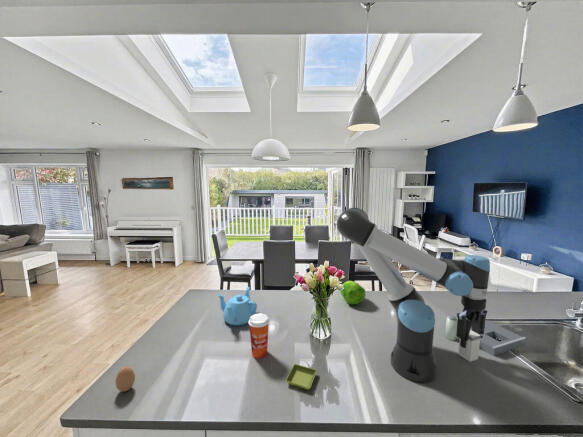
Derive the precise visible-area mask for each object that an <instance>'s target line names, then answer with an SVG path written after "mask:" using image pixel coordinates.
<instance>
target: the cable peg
mask: <svg viewBox="0 0 583 437" xmlns="http://www.w3.org/2000/svg"><path fill="white" fill-rule="evenodd" d="M456 317H457V316H453V315H448V316H447V317H446V321H445V322H446V323H445V336H444V337H445V339H447V340H449V341H456V340H457V336H456V334H457V321H458V318H456Z"/></svg>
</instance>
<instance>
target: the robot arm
mask: <svg viewBox="0 0 583 437" xmlns="http://www.w3.org/2000/svg"><path fill="white" fill-rule="evenodd" d="M336 227H337V231H338V233H339V234H340V235H341V237H344V239H347V240H349V241H350V243H351V245H355V246H357V247H358V249H359V251H360V252H361V253H362V255H363V257H364V258H365V259H366V261H367V263H368V265H369V266H370V267H371V269H372V270H373V272H374V274H375V275H376V277H377V278H378V280H379V281H380V282H381V284H382V285H383V287H384V289H385V290H386V292H387V296H386V297H387V300H388V302H389V303H390V304H391V306H392V307H393V310H394V312H395V313H396V322H397V328H396V342H395V345H394V347H393V349H392V352H391V354H390V364H391V368H393V370H394V371H395V372H396V373H398V374H399V375H400V376H401V377H403V378H405V379H407V380H409V381H413V382H416V383H431V382H433V381H434V380H436V378H437V371H438V370H437V365H436V362H435V358H434V353H433V348H434V347H433V343H434V334H435V333H434V332H435V325H436V317H435V312H434V310H433V309H432V307H431V306H430V305H428V304H426V303H425V300H424V298H423V296H422V295H421V294H420V293H419V292H418V291H417V289H416V288H415V286H414V285H413V284H412V283H408V282H407V281H406V280H405V278H404V277H403V275H402V274H401V273H400V271H399V269H398V268H397V266H396V265H395V263H394V262H396V263H399V264H401V265H403V266H404V267H407V268H408V269H410V270H412V271H414V272H415V273H418V274H420V275H421V276H423V277H425V278H427V279H429V280H431V281H433V282H435V283H436V284H438V285H440V286H442V287H444V288H445V289H446V290H447V291H448V293H451V294H452V295H453V296H456V297H457V296H458V297H461V298H460V299H461V300H460V303H461V304H462V306H463V309H462V312H461V313H460V312H457V314H456V317H457V318H456V319H458V321H457V334H456V338H459V342H460V353H461V354H463V355H465V356H466V357H468V351H469V340H468V337H469V333H470V329H471V326H472V331H474V332H476V333H477V334H479V335H481V334H482V335H483V334H484V328H485V320H487V319H486V318H487V314H488V310H486V309H487V295H488V288H489V279H490V278H489V277H490V272H491V263H490V262H491V261H490V260H489V258H487V257H485V256H482V255H477V254H467V255H465V257H464V258H463V260H462V259H450V258H440V257H435V256H433V255H431V254H429V253H428V252H425V251H423V250H421V249H419V248H417V247H415V246H413V245H411V244H409V243H407V242H406V241H403V240H402V239H399V238H397V237H395V236H394V235H391V234H389V233H387V232H386V231H383V230H382V229H379V228H378V226H377V224H376V223H373V222H372V221H370V219H369V216H368V214H367V212H366V211H364V210H363V209H362V208H358V207H350V208H348V209H346V210H344V211H343V212H341V213H340V215H339V216H338V218H337V221H336ZM482 337H483V336H481V338H482ZM460 339H461V340H460Z"/></svg>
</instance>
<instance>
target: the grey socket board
mask: <svg viewBox="0 0 583 437" xmlns="http://www.w3.org/2000/svg"><path fill="white" fill-rule="evenodd" d="M470 330H472V326H471V329H470ZM481 336H483V337H482V338H480V345H479V349H481V350H483V351H484V352H485V353H488V354H489V355H491V356H494V357H495V356H497V355H501V354H503V353H506V352H509V351H511V350H510V349H512V350H515V349H518V348H521V347H524V346H526V342H527V341H526V340H527V337H526V336H521V335H519V334H517V333H515V332H514V331H510V330H509V329H506V328H505V327H502V326H500V325H498V324H497V323H496V324H495V323H494V322H492V321H490V320H487V319H485V328H484V334H483V335H482V334H481ZM492 337H495V338H497V339H498V340H497V339H495V338H492ZM499 339H500V340H501V341H502V342H501V341H499Z"/></svg>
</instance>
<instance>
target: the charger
mask: <svg viewBox="0 0 583 437" xmlns="http://www.w3.org/2000/svg"><path fill="white" fill-rule="evenodd" d="M480 338H481V335H479V334H477V333H476V332H474V331H472V330H470V333H469V337H468V340H469V351H468V357H466V356H465V355H463V354H461V353H460V340H461V339H460V338H459V344H458V352H457V353H458V356H460V357H462V358H463V359H465V360H466V361H468V362H470V363H471V362H473V361H478V359H479V354H480V348H479V345H480Z"/></svg>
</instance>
